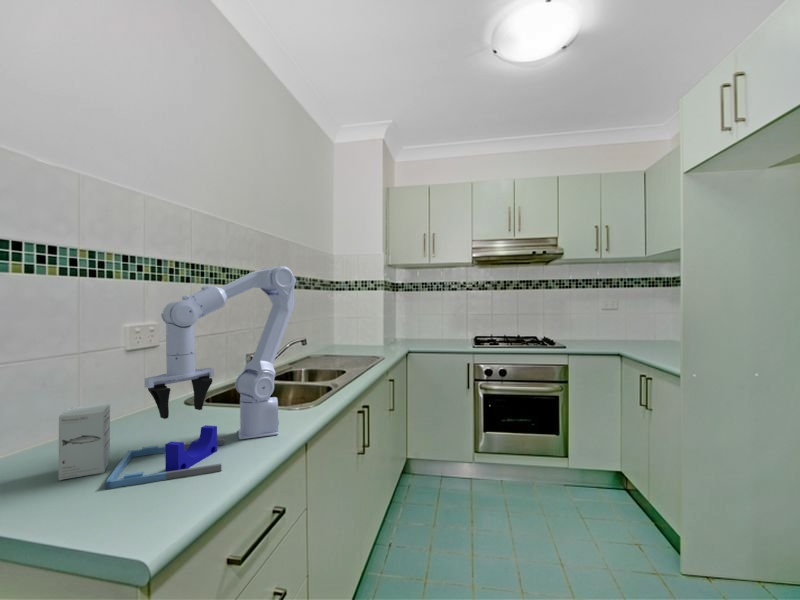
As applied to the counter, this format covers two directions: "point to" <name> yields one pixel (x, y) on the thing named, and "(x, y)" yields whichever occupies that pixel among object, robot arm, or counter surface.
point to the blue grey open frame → (140, 478)
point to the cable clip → (191, 450)
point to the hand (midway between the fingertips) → (182, 413)
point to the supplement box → (84, 441)
